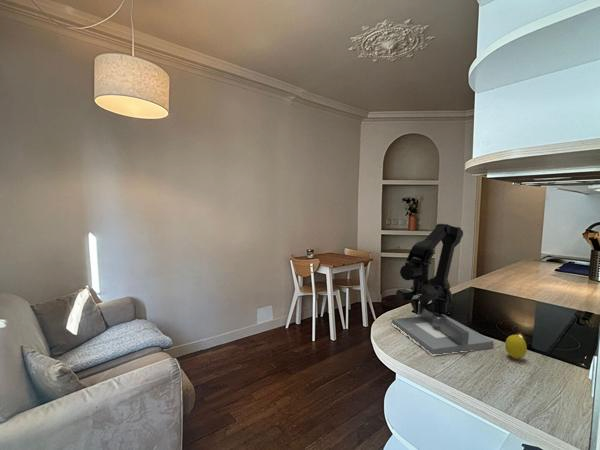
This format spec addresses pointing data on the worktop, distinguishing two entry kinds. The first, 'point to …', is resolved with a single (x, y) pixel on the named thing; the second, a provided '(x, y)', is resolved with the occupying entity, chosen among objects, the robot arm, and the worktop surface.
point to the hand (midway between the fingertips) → (419, 313)
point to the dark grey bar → (443, 324)
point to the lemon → (516, 346)
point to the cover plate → (440, 336)
